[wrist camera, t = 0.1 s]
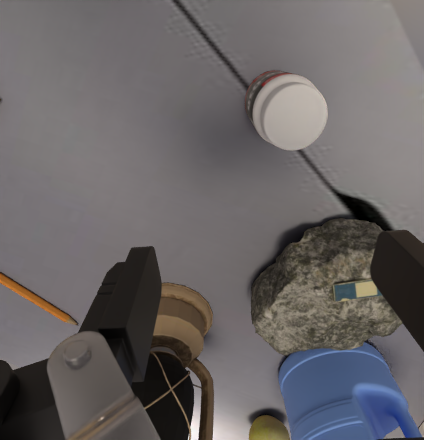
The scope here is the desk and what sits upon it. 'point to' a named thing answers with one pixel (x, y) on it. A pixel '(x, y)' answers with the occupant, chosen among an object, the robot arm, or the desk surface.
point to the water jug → (343, 396)
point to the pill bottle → (286, 109)
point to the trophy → (422, 429)
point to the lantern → (177, 366)
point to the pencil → (35, 299)
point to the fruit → (268, 429)
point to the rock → (323, 291)
